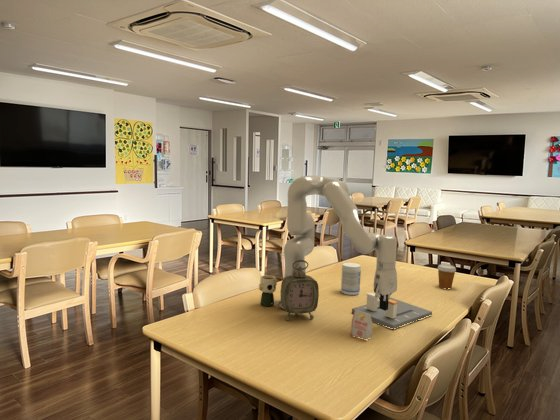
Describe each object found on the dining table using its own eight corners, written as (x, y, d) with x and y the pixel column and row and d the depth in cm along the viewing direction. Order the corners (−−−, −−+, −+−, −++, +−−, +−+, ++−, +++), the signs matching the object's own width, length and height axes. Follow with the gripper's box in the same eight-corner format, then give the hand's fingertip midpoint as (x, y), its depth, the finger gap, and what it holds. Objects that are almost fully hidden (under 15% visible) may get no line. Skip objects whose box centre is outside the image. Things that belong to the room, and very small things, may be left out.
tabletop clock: (284, 322, 166) (286, 263, 163) (278, 314, 175) (280, 257, 172) (317, 320, 170) (320, 262, 167) (310, 312, 178) (312, 256, 175)
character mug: (264, 309, 179) (265, 281, 178) (253, 305, 184) (254, 277, 183) (281, 304, 187) (282, 276, 186) (270, 300, 192) (271, 273, 190)
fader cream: (373, 311, 176) (374, 296, 175) (365, 308, 180) (366, 293, 179) (377, 310, 178) (378, 295, 177) (369, 307, 181) (370, 292, 181)
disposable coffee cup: (457, 290, 219) (459, 269, 218) (439, 289, 219) (441, 268, 218) (450, 285, 229) (452, 264, 227) (433, 284, 229) (435, 263, 228)
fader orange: (392, 319, 168) (393, 303, 168) (384, 315, 172) (385, 300, 171) (396, 317, 170) (398, 302, 169) (388, 314, 174) (389, 298, 173)
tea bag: (355, 333, 159) (356, 308, 158) (371, 338, 155) (373, 312, 154) (350, 335, 156) (352, 310, 155) (366, 341, 152) (368, 315, 151)
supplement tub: (362, 295, 204) (363, 267, 203) (343, 295, 203) (345, 267, 201) (355, 289, 214) (357, 262, 212) (338, 289, 213) (340, 262, 211)
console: (393, 330, 163) (393, 325, 163) (351, 312, 180) (352, 308, 180) (431, 316, 180) (432, 311, 180) (390, 301, 197) (390, 297, 197)
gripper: (381, 270, 157) (379, 315, 159) (404, 264, 166) (402, 308, 168) (366, 266, 163) (364, 310, 165) (389, 261, 172) (387, 303, 174)
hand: (383, 309), depth 166 cm, fingers closed
